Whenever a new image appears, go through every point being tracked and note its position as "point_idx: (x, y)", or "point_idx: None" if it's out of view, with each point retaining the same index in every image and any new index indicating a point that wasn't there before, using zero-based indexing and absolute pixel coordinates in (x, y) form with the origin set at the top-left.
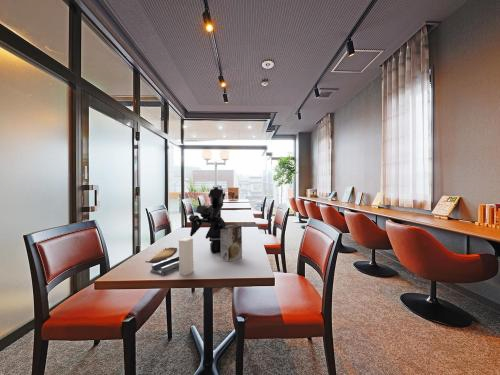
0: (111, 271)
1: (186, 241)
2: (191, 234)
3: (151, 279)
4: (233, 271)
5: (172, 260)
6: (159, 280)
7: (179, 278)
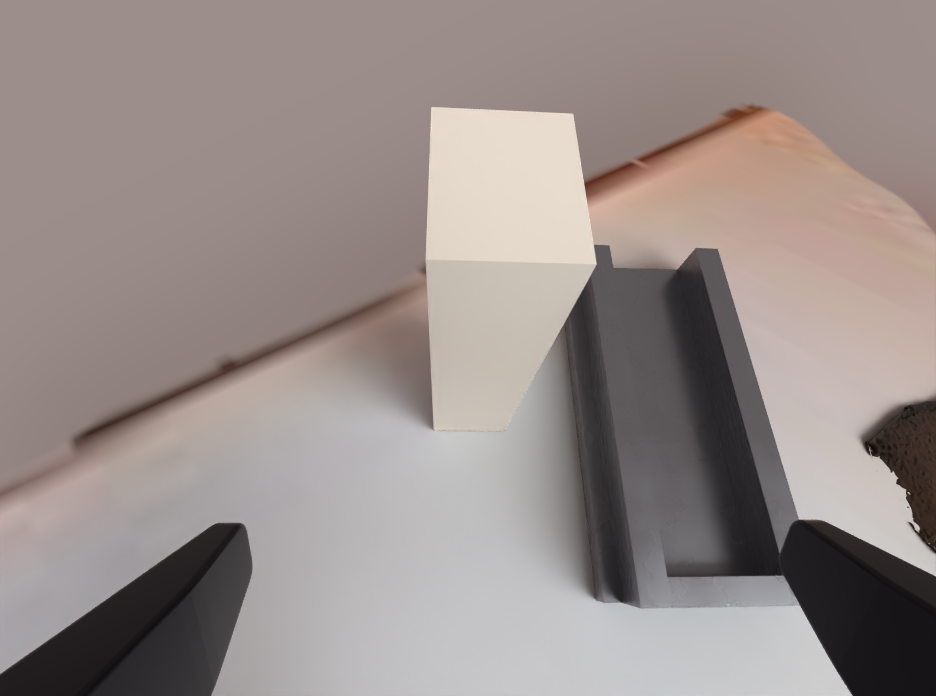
0: (884, 188)
1: (431, 143)
2: (817, 560)
3: None
4: None
5: (735, 439)
6: None
7: None
